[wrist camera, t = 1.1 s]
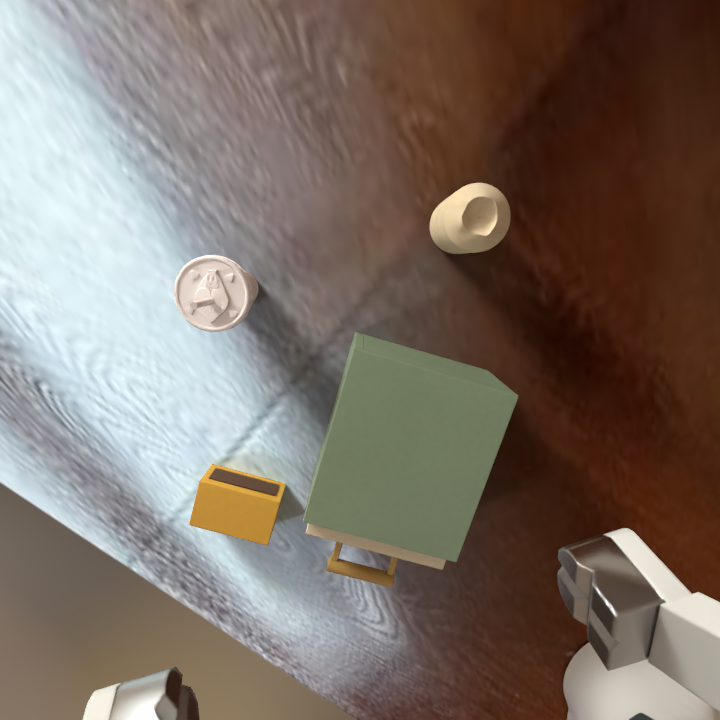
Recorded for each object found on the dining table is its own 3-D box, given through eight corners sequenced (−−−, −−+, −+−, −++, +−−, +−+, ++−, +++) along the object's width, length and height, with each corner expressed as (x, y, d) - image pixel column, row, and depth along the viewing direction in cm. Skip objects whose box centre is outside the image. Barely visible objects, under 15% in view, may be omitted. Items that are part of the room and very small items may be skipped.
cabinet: (439, 509, 53) (456, 562, 44) (313, 474, 53) (302, 522, 43) (488, 370, 50) (518, 396, 41) (355, 331, 49) (354, 348, 40)
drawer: (415, 567, 54) (425, 618, 46) (300, 536, 53) (290, 583, 45) (476, 396, 50) (497, 421, 42) (352, 361, 49) (351, 379, 41)
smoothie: (208, 316, 49) (150, 337, 35) (209, 253, 48) (149, 249, 34) (270, 321, 49) (235, 344, 35) (273, 259, 48) (238, 257, 34)
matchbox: (286, 482, 53) (280, 501, 49) (274, 525, 54) (267, 547, 50) (212, 462, 52) (199, 479, 48) (201, 506, 53) (188, 526, 49)
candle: (487, 248, 48) (520, 244, 38) (433, 259, 48) (453, 258, 38) (479, 191, 47) (511, 173, 37) (424, 203, 47) (441, 187, 37)
